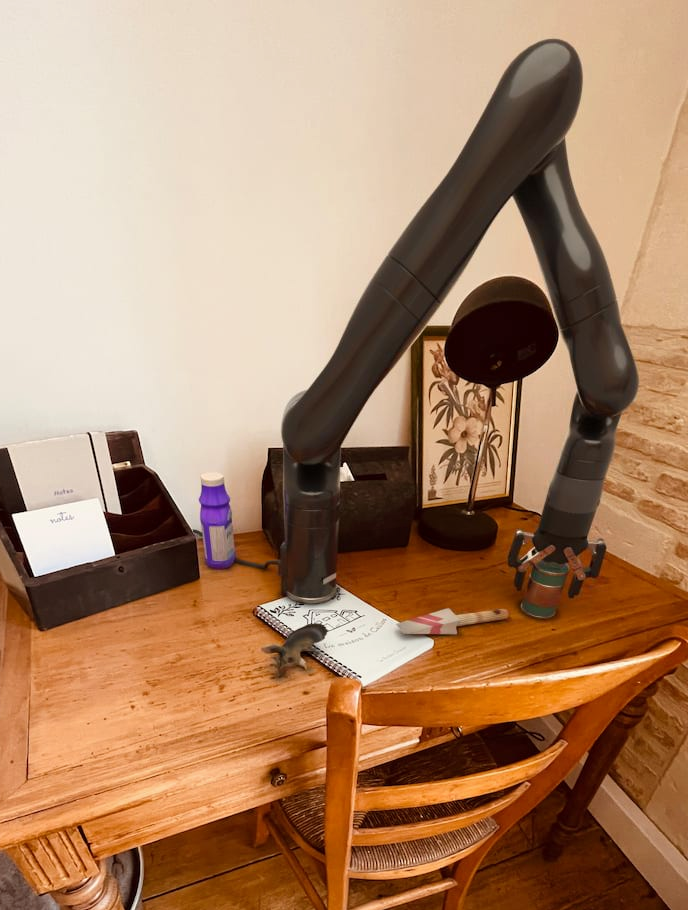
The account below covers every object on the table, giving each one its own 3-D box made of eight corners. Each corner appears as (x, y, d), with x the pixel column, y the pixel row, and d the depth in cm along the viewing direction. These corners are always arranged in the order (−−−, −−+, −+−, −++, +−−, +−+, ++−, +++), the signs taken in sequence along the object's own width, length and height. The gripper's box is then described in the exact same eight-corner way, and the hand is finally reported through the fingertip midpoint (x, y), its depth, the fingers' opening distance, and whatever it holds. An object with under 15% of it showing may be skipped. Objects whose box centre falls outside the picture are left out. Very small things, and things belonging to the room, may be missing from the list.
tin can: (520, 616, 91) (534, 570, 85) (519, 599, 95) (532, 555, 90) (555, 622, 89) (571, 575, 84) (553, 604, 94) (568, 559, 89)
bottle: (232, 572, 100) (224, 482, 90) (202, 571, 100) (191, 481, 90) (238, 554, 106) (231, 469, 96) (210, 553, 106) (200, 468, 96)
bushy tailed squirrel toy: (312, 684, 73) (339, 641, 78) (283, 646, 70) (313, 605, 75) (276, 689, 78) (303, 648, 83) (247, 654, 75) (277, 614, 80)
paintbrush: (395, 614, 84) (501, 601, 90) (393, 628, 86) (496, 615, 92) (405, 627, 81) (514, 613, 87) (403, 641, 83) (509, 627, 89)
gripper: (616, 498, 82) (585, 588, 92) (522, 488, 85) (501, 576, 95) (625, 516, 76) (590, 610, 86) (524, 505, 79) (501, 596, 89)
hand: (544, 592), depth 90 cm, fingers open, 8 cm apart
